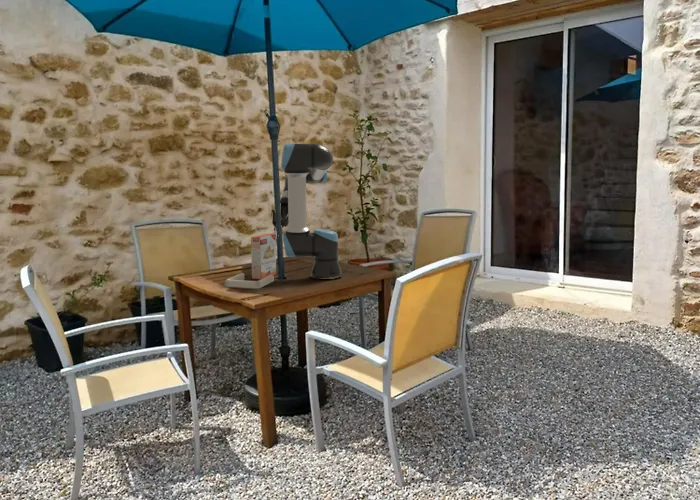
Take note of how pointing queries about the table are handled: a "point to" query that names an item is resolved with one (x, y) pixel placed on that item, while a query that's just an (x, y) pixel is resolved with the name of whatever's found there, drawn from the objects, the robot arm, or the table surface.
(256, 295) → the table surface
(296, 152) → the robot arm
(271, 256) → the cracker box
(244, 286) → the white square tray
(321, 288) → the table surface
